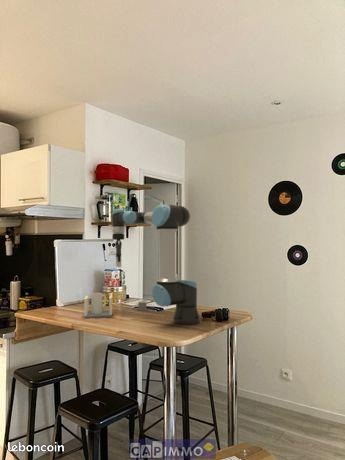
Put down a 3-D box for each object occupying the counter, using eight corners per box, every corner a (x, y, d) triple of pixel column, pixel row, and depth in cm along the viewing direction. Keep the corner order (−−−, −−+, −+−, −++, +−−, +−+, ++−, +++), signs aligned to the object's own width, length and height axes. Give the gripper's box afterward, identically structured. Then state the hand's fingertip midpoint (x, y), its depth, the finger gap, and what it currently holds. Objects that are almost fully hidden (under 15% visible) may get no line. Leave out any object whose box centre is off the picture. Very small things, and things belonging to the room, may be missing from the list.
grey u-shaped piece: (111, 317, 212) (111, 298, 212) (84, 318, 210) (84, 299, 210) (112, 313, 226) (112, 294, 226) (86, 314, 224) (86, 295, 224)
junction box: (146, 310, 234) (146, 302, 234) (138, 310, 233) (138, 303, 234) (145, 308, 240) (145, 301, 240) (138, 309, 239) (138, 301, 240)
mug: (94, 314, 213) (94, 294, 214) (89, 313, 219) (89, 293, 219) (109, 312, 220) (109, 292, 220) (103, 310, 225) (103, 291, 226)
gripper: (112, 234, 242) (112, 265, 241) (112, 232, 217) (113, 268, 216) (123, 233, 243) (123, 265, 242) (125, 232, 219) (125, 267, 218)
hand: (118, 266), depth 229 cm, fingers open, 13 cm apart
